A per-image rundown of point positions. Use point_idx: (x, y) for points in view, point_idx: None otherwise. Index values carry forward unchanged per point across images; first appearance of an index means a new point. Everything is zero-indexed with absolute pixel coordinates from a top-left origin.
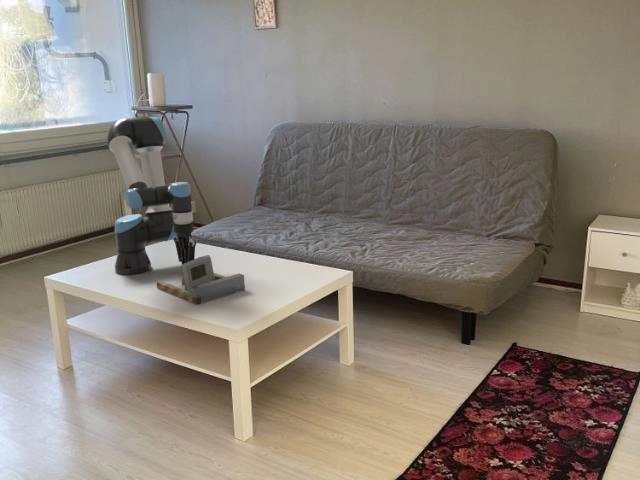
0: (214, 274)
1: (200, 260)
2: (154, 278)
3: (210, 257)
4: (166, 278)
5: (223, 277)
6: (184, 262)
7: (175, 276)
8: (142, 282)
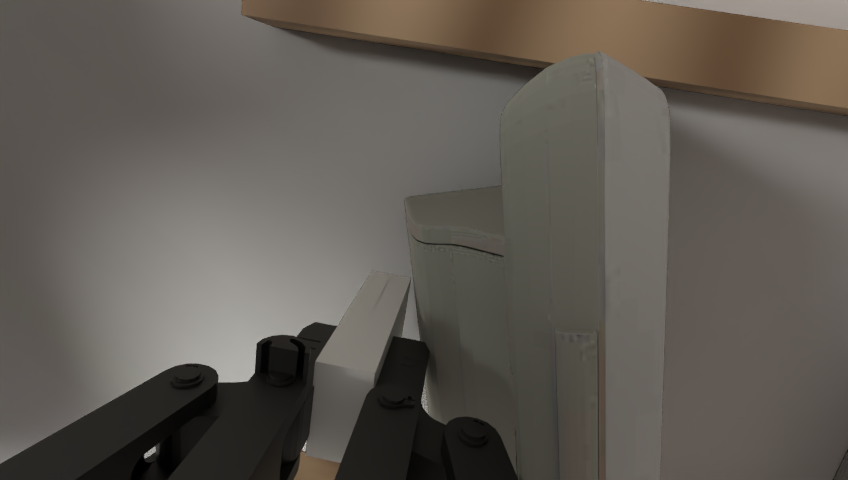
0: (555, 28)
1: (655, 435)
2: (6, 324)
3: (664, 96)
4: (81, 270)
5: (764, 55)
6: (300, 449)
7: (88, 183)
8: (37, 437)
